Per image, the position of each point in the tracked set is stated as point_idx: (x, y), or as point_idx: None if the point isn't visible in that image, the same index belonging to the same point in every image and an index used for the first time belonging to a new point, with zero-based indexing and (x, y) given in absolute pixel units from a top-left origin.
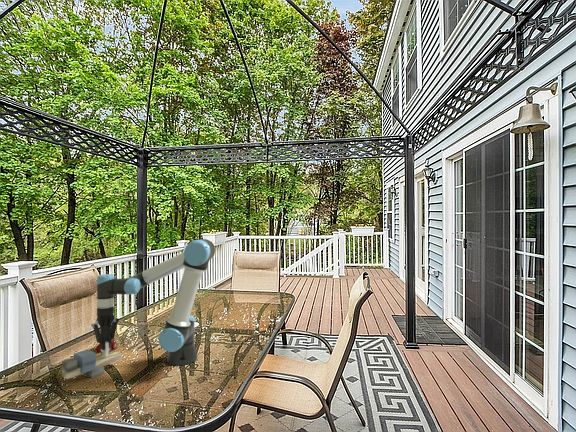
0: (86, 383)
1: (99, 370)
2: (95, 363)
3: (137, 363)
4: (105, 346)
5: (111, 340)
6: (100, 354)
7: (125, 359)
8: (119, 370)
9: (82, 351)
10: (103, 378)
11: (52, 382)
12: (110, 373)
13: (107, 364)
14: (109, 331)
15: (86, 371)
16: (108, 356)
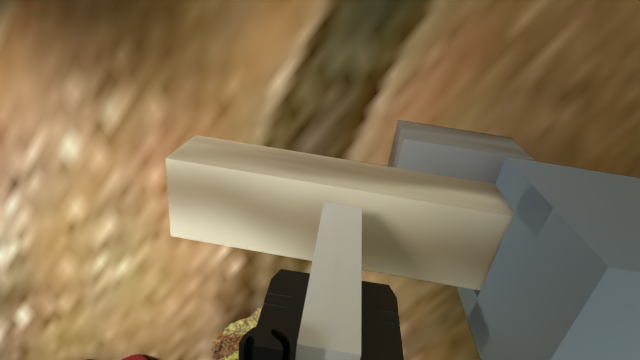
0: (618, 91)
1: (451, 142)
2: (530, 182)
3: (109, 23)
4: (359, 307)
5: (245, 341)
6: (233, 349)
7: (129, 188)
8: (295, 49)
9: None
10: (487, 37)
11: None
12: (377, 71)
13: (346, 160)
14: None
15: (607, 174)
16: (298, 221)
